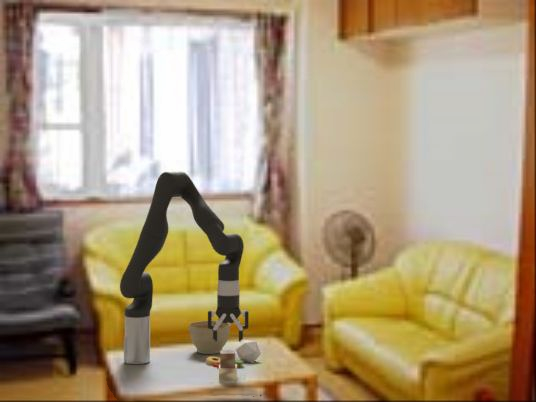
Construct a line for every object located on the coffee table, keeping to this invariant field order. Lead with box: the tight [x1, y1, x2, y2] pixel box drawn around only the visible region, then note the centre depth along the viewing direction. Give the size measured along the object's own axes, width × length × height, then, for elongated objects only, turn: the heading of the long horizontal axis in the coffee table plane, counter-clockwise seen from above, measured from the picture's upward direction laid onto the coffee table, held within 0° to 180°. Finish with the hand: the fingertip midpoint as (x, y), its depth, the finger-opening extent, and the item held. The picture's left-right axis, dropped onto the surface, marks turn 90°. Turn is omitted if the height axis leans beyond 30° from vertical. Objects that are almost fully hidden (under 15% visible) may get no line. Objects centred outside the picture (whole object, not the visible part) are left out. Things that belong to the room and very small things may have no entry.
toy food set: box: [205, 356, 245, 370], centre depth 308 cm, size 13×13×3 cm
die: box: [235, 339, 262, 364], centre depth 316 cm, size 8×9×10 cm
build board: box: [209, 373, 247, 384], centre depth 289 cm, size 12×12×1 cm
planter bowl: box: [188, 320, 231, 355], centre depth 331 cm, size 16×16×11 cm
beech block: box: [218, 364, 238, 380], centre depth 289 cm, size 6×6×4 cm
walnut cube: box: [219, 349, 236, 368], centre depth 289 cm, size 5×5×5 cm
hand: (228, 341), depth 288 cm, fingers open, 7 cm apart
